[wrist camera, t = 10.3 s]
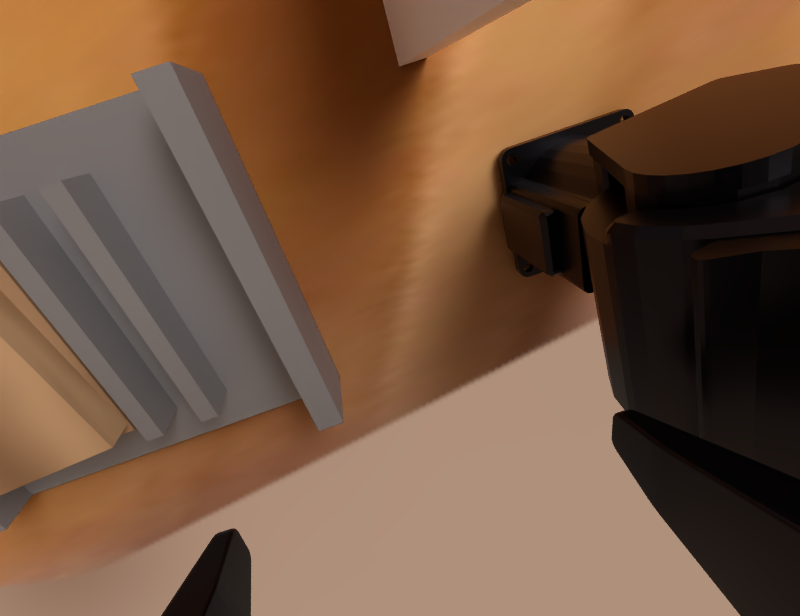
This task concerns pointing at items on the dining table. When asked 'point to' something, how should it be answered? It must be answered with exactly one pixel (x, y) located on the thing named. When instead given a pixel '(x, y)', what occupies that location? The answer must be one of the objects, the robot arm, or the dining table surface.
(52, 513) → the dining table surface
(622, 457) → the robot arm
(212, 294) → the rack
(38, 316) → the offcut lower
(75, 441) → the offcut upper
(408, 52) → the sheet
